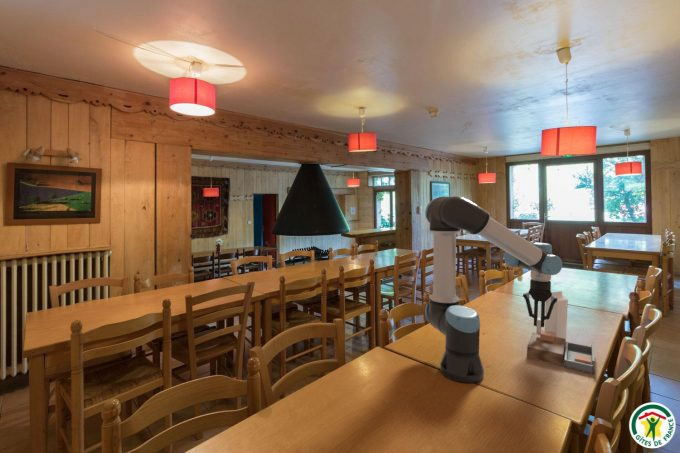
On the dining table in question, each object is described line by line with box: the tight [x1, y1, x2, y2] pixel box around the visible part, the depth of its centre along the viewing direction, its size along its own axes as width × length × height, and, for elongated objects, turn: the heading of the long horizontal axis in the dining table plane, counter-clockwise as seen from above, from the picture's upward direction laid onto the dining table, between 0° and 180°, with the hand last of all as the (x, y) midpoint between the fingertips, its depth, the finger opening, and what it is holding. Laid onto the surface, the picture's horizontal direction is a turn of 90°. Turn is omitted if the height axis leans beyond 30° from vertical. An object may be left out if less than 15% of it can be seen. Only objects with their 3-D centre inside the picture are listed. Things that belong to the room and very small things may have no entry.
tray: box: [563, 341, 596, 375], centre depth 132 cm, size 9×20×5 cm, turn 144°
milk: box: [544, 290, 569, 342], centre depth 152 cm, size 6×6×22 cm
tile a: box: [575, 354, 591, 365], centre depth 128 cm, size 5×5×2 cm
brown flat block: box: [526, 332, 566, 367], centre depth 139 cm, size 12×18×4 cm, turn 144°
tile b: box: [540, 329, 555, 342], centre depth 142 cm, size 5×5×2 cm
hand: (538, 333), depth 144 cm, fingers closed
